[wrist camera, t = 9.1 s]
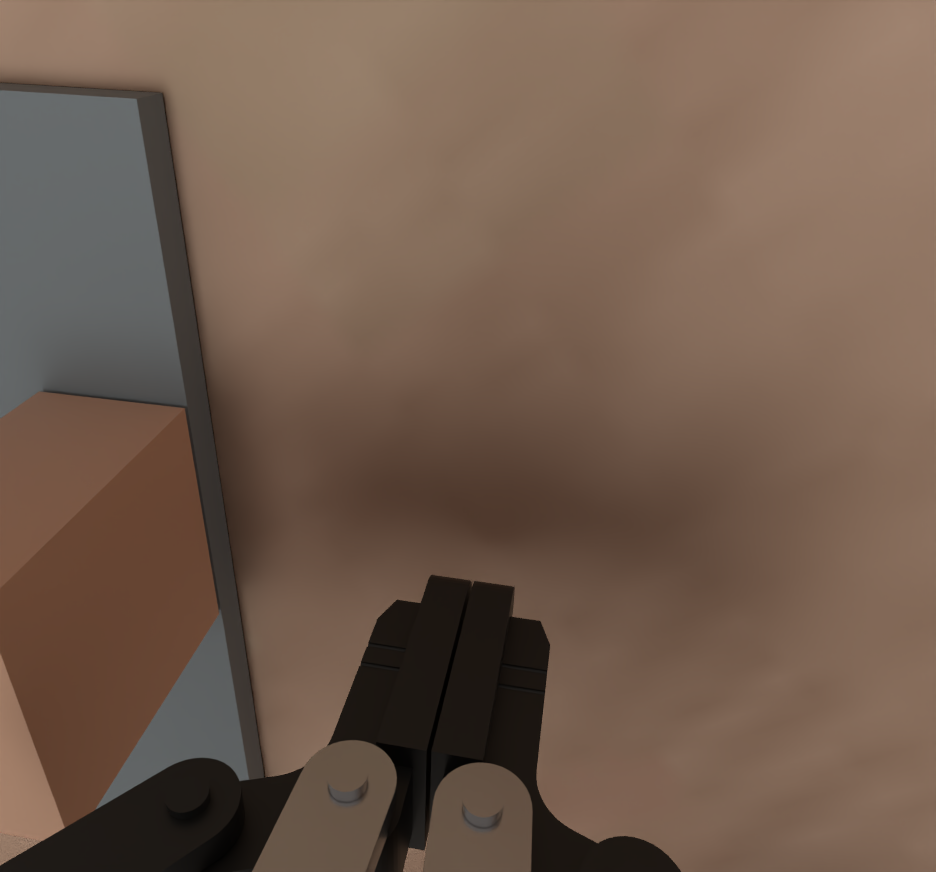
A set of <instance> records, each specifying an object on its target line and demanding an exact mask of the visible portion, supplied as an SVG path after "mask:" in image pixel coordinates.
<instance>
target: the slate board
mask: <svg viewBox="0 0 936 872" xmlns="http://www.w3.org/2000/svg"><path fill="white" fill-rule="evenodd" d="M39 391H40V392H48V393H57V394H66V395H74V396H83V397H92V398H101V399H109V400H118V401H127V402H135V403H144V404H153V405H162V406H170V407H179V408H185V413H186V419H187V425H188V431H189V437H190V443H191V449H192V455H193V461H194V467H195V472H196V478H197V484H198V490H199V496H200V502H201V508H202V514H203V520H204V526H205V532H206V538H207V544H208V550H209V556H210V562H211V568H212V574H213V580H214V586H215V592H216V598H217V604H218V610H219V615H218V616H217V618H216V620H215V621H214V623H213V624H212V626H211V627H210V629H209V631H208V632H207V634H206V635H205V637H204V639H203V640H202V642H201V643H200V645H199V646H198V648H197V650H196V651H195V653H194V654H193V656H192V657H191V659H190V661H189V662H188V664H187V665H186V667H185V669H184V670H183V672H182V673H181V675H180V676H179V678H178V680H177V681H176V683H175V684H174V686H173V688H172V689H171V691H170V692H169V694H168V695H167V697H166V699H165V700H164V702H163V703H162V705H161V706H160V708H159V710H158V711H157V713H156V714H155V716H154V718H153V719H152V721H151V722H150V724H149V725H148V727H147V729H146V730H145V732H144V733H143V735H142V736H141V738H140V740H139V741H138V743H137V744H136V746H135V748H134V749H133V751H132V752H131V754H130V755H129V757H128V759H127V760H126V762H125V763H124V765H123V767H122V768H121V770H120V771H119V773H118V774H117V776H116V778H115V779H114V781H113V782H112V784H111V785H110V787H109V789H108V790H107V792H106V793H105V795H104V797H103V798H102V800H101V801H100V803H99V804H98V806H97V808H96V809H98V808H99V807H101V806H103V805H104V804H106V803H108V802H109V801H111V800H113V799H115V798H116V797H118V796H120V795H121V794H123V793H125V792H126V791H128V790H130V789H132V788H133V787H135V786H137V785H138V784H140V783H142V782H144V781H145V780H147V779H149V778H150V777H152V776H154V775H155V774H157V773H159V772H161V771H162V770H164V769H166V768H167V767H169V766H171V765H173V764H175V763H178V762H181V761H183V760H187V759H192V758H212V759H216V760H219V761H221V762H224V763H225V764H227V765H228V766H230V767H231V768H232V769H233V770H234V772H235V773H236V775H237V776H238V778H239V781H243V780H251V779H258V778H264V771H263V764H262V758H261V751H260V744H259V738H258V731H257V724H256V718H255V711H254V704H253V697H252V691H251V684H250V677H249V671H248V664H247V657H246V651H245V644H244V637H243V631H242V624H241V617H240V611H239V604H238V597H237V590H236V584H235V577H234V570H233V564H232V557H231V550H230V544H229V537H228V530H227V524H226V517H225V510H224V503H223V497H222V490H221V483H220V477H219V470H218V463H217V457H216V450H215V443H214V437H213V430H212V423H211V417H210V410H209V403H208V396H207V390H206V383H205V376H204V370H203V363H202V356H201V350H200V343H199V336H198V330H197V323H196V316H195V309H194V303H193V296H192V289H191V283H190V276H189V269H188V263H187V256H186V249H185V243H184V236H183V229H182V222H181V216H180V209H179V202H178V196H177V189H176V182H175V176H174V169H173V162H172V156H171V149H170V142H169V136H168V129H167V122H166V115H165V109H164V102H163V95H162V93H156V92H140V91H124V90H108V89H92V88H76V87H60V86H44V85H28V84H12V83H0V418H2V417H3V416H5V415H6V414H8V413H9V412H10V411H12V410H13V409H15V408H16V407H18V406H19V405H20V404H22V403H23V402H25V401H26V400H28V399H29V398H30V397H32V396H33V395H35V394H36V393H37V392H39ZM96 809H95V810H96Z"/></svg>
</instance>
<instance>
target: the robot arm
mask: <svg viewBox="0 0 936 872" xmlns="http://www.w3.org/2000/svg"><path fill="white" fill-rule="evenodd" d="M514 591H515V587H512V586H505V585H499V584H492V583H485V582H478V581H474V583H473V586H472V582H471V581H470V580H463V579H456V578H449V577H442V576H435V575H431V576H430V577H429V580H428V583H427V586H426V589H425V592H424V595H423V598H422V601H421V603H415V602H408V601H402V600H396V601H395V602H394V603H393V604H392V605H391V606H390V607H389V608H388V609H387V610H386V611H385V612H384V613H383V614H382V615H381V616H380V617H379V618H378V619H377V622H376V624H375V627H374V629H373V632H372V635H371V637H370V640H369V644H368V647H367V648H366V650H365V653H364V655H363V658H362V661H361V666H359V668H358V671H357V674H356V676H355V679H354V681H353V684H352V687H351V689H350V692H349V694H348V697H347V700H346V702H345V705H344V707H343V710H342V713H341V715H340V718H339V721H338V723H337V726H336V728H335V731H334V734H333V736H332V738H331V740H330V742H329V744H328V745H327V746H326V747H325V748H323V749H321V750H320V751H318V752H317V753H316V754H315V755H314V756H312V757H311V759H310V760H309V761H308V762H307V763H306V765H305V766H304V767H303V768H301V769H298V770H296V771H294V772H291V773H288V774H285V775H280V776H274V777H266V778H258V779H251V780H243V781H239V778H238V776H237V775H236V773H235V772H234V770H233V769H232V768H231V767H230V766H228V765H227V764H225V763H224V762H221V761H219V760H216V759H212V758H192V759H187V760H183V761H181V762H178V763H175V764H173V765H171V766H169V767H167V768H166V769H164V770H162V771H161V772H159V773H157V774H155V775H154V776H152V777H150V778H149V779H147V780H145V781H144V782H142V783H140V784H138V785H137V786H135V787H133V788H132V789H130V790H128V791H126V792H125V793H123V794H121V795H120V796H118V797H116V798H115V799H113V800H111V801H109V802H108V803H106V804H104V805H103V806H101V807H99V808H98V809H96V810H94V811H92V812H91V813H89V814H87V815H86V816H84V817H82V818H81V819H79V820H77V821H75V822H74V823H72V824H70V825H69V826H67V827H65V828H64V829H62V830H60V831H58V832H57V833H55V834H53V835H52V836H50V837H48V838H47V839H45V840H43V841H41V842H40V843H38V844H36V845H35V846H33V847H31V848H29V849H28V850H26V851H24V852H23V853H21V854H19V855H18V856H16V857H14V858H12V859H11V860H9V861H7V862H6V863H4V864H2V865H1V866H0V872H403V868H404V864H405V860H406V855H407V851H408V847H409V848H415V849H420V850H425V846H426V841H427V837H428V841H427V847H426V854H425V861H424V868H423V872H681V871H680V869H679V868H678V867H677V865H676V864H675V863H674V862H673V861H672V860H671V858H670V857H669V856H668V855H667V854H665V853H664V852H663V851H662V850H661V849H659V848H658V847H656V846H654V845H653V844H651V843H649V842H647V841H644V840H641V839H638V838H635V837H627V836H620V837H613V838H608V839H606V840H603V841H601V842H600V843H596V842H594V841H592V840H590V839H588V838H586V837H585V836H583V835H581V834H579V833H577V832H575V831H573V830H572V829H570V828H568V827H567V826H565V825H564V824H562V823H561V822H560V821H559V820H557V819H556V818H555V817H554V816H553V814H552V813H551V812H550V811H549V810H548V808H547V807H546V805H545V804H544V802H543V800H542V798H541V796H540V793H539V790H538V787H537V781H536V770H537V761H538V751H539V742H540V733H541V724H542V715H543V705H544V696H545V687H546V678H547V669H548V659H549V650H550V644H549V641H548V639H547V636H546V634H545V631H544V629H543V627H542V624H541V622H540V621H536V620H529V619H522V618H516V617H512V614H513V603H514ZM428 833H429V834H428Z"/></svg>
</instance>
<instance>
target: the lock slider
mask: <svg viewBox="0 0 936 872" xmlns="http://www.w3.org/2000/svg"><path fill="white" fill-rule="evenodd" d="M218 615H219V610H218V604H217V598H216V592H215V586H214V580H213V574H212V568H211V562H210V556H209V550H208V544H207V538H206V532H205V526H204V520H203V514H202V508H201V502H200V496H199V490H198V484H197V478H196V472H195V467H194V461H193V455H192V449H191V443H190V437H189V431H188V425H187V419H186V413H185V408H179V407H170V406H162V405H153V404H144V403H135V402H127V401H118V400H109V399H101V398H92V397H83V396H74V395H66V394H57V393H48V392H40V391H39V392H37V393H36V394H35V395H33V396H32V397H30V398H29V399H28V400H26V401H25V402H23V403H22V404H20V405H19V406H18V407H16V408H15V409H13V410H12V411H10V412H9V413H8V414H6V415H5V416H3V417H2V418H0V833H3V834H8V835H13V836H19V837H24V838H29V839H34V840H40V841H43V840H45V839H47V838H48V837H50V836H52V835H53V834H55V833H57V832H58V831H60V830H62V829H64V828H65V827H67V826H69V825H70V824H72V823H74V822H75V821H77V820H79V819H81V818H82V817H84V816H86V815H87V814H89V813H91V812H92V811H94V810H95V809H96V808H97V806H98V804H99V803H100V801H101V800H102V798H103V797H104V795H105V793H106V792H107V790H108V789H109V787H110V785H111V784H112V782H113V781H114V779H115V778H116V776H117V774H118V773H119V771H120V770H121V768H122V767H123V765H124V763H125V762H126V760H127V759H128V757H129V755H130V754H131V752H132V751H133V749H134V748H135V746H136V744H137V743H138V741H139V740H140V738H141V736H142V735H143V733H144V732H145V730H146V729H147V727H148V725H149V724H150V722H151V721H152V719H153V718H154V716H155V714H156V713H157V711H158V710H159V708H160V706H161V705H162V703H163V702H164V700H165V699H166V697H167V695H168V694H169V692H170V691H171V689H172V688H173V686H174V684H175V683H176V681H177V680H178V678H179V676H180V675H181V673H182V672H183V670H184V669H185V667H186V665H187V664H188V662H189V661H190V659H191V657H192V656H193V654H194V653H195V651H196V650H197V648H198V646H199V645H200V643H201V642H202V640H203V639H204V637H205V635H206V634H207V632H208V631H209V629H210V627H211V626H212V624H213V623H214V621H215V620H216V618H217V616H218Z"/></svg>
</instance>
